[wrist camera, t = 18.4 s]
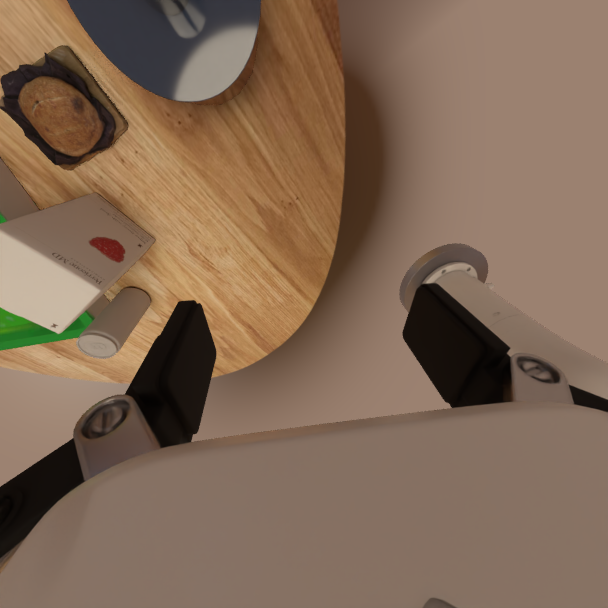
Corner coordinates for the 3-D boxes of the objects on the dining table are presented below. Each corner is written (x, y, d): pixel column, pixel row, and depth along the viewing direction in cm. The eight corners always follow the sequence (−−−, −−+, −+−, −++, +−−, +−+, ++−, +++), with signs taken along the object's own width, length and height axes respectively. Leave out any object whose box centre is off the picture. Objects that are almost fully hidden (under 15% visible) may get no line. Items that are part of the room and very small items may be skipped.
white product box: (158, 240, 36) (104, 293, 24) (124, 274, 38) (59, 337, 26) (95, 189, 31) (-12, 223, 19) (60, 231, 34) (-54, 286, 22)
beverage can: (115, 285, 39) (67, 334, 30) (147, 285, 40) (109, 333, 31) (126, 308, 42) (85, 360, 33) (155, 308, 43) (123, 358, 33)
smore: (65, 38, 24) (36, 24, 21) (135, 132, 28) (120, 131, 25) (-8, 96, 25) (-45, 91, 22) (69, 176, 30) (48, 180, 27)
